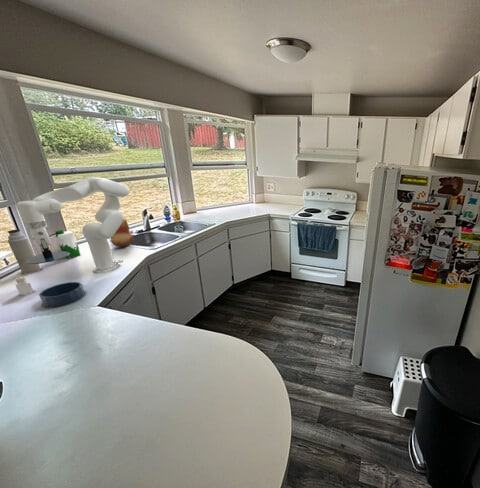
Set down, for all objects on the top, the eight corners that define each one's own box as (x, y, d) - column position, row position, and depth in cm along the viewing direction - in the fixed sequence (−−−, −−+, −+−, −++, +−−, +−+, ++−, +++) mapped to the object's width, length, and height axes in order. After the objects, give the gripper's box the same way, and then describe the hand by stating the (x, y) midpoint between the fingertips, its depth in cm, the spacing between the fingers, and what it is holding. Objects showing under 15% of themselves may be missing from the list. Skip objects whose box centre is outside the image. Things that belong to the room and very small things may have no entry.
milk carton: (62, 256, 184) (52, 230, 177) (78, 252, 191) (69, 227, 184) (66, 259, 179) (56, 232, 172) (82, 255, 186) (73, 229, 179)
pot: (80, 288, 143) (77, 279, 141) (88, 297, 135) (85, 287, 133) (41, 300, 132) (36, 290, 129) (47, 311, 123) (42, 300, 121)
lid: (66, 250, 148) (62, 240, 146) (72, 258, 139) (69, 247, 137) (24, 259, 136) (19, 248, 134) (28, 267, 127) (23, 256, 124)
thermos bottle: (37, 267, 166) (20, 227, 156) (43, 270, 163) (26, 229, 153) (20, 272, 159) (1, 231, 149) (25, 275, 156) (6, 233, 146)
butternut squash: (117, 250, 196) (108, 220, 187) (110, 247, 202) (101, 217, 194) (137, 245, 207) (130, 216, 198) (130, 242, 213) (123, 214, 205)
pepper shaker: (28, 291, 139) (21, 276, 136) (34, 291, 139) (27, 276, 136) (19, 295, 135) (11, 279, 132) (25, 295, 135) (18, 280, 132)
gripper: (48, 226, 129) (61, 258, 135) (43, 220, 138) (55, 251, 145) (27, 229, 123) (40, 263, 130) (23, 223, 133) (36, 255, 139)
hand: (48, 256), depth 137 cm, fingers closed on lid, 3 cm apart
